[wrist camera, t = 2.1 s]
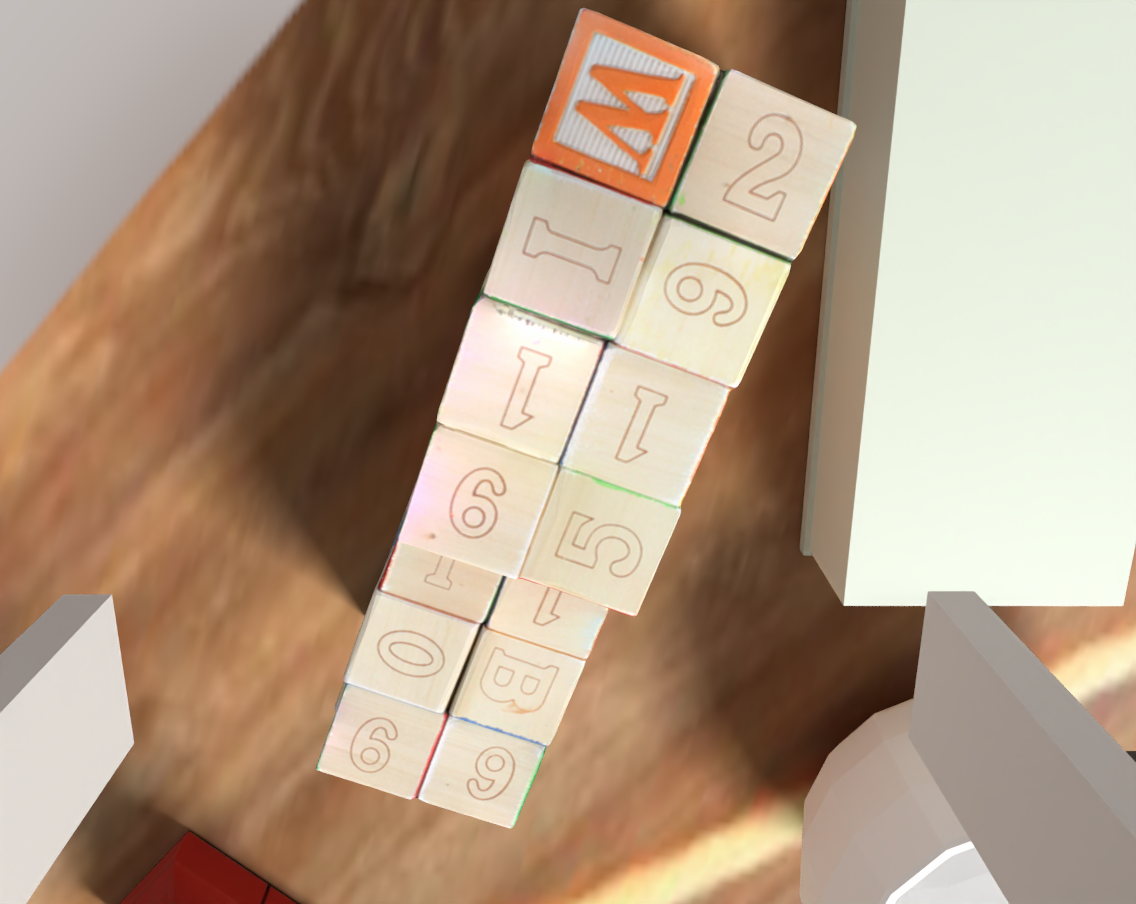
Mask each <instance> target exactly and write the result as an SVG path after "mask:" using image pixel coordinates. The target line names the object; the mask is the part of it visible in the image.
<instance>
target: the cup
mask: <svg viewBox="0 0 1136 904" xmlns="http://www.w3.org/2000/svg"><path fill="white" fill-rule="evenodd" d="M913 699H914V698H913ZM913 699H910V700H908V701H905V702H903V703H900V704H897V705H895V706H892V707H890V708H887V709H885V710H882V711H880V712H877V713H874V714H873V715H872V716H871V717H870V718H869V719H867V720H866V721H865V722H864V723H863V724H862V725H861V726H859V727H858V728H857V729H856V730H855V731H854V732H852V733H851V734H850V735H849V736H848V737H847V738H845V739H844V740H843V741H842V742H841V743H840V744H839V745H838V746H837V747H836V748H835V749H834V750H833V751H832V752H831V753H830V754H829V755H828V757H827V759H826V761H825V763H824V764H823V766H822V768H821V770H820V772H819V774H818V776H817V778H816V780H815V782H814V784H813V785H812V787H811V789H810V791H809V793H808V795H807V797H806V799H805V801H804V816H803V833H802V853H801V876H800V900H801V903H802V904H1009V903H1008V901H1007V900H1006V898H1005V896H1004V895H1003V893H1002V891H1001V890H1000V888H999V886H998V885H997V883H996V881H995V880H994V878H993V876H992V875H991V873H990V871H989V870H988V868H987V867H986V865H985V863H984V862H983V860H982V858H981V857H980V855H979V853H978V852H977V850H976V848H975V847H974V845H973V843H972V842H971V840H970V838H969V837H968V835H967V833H966V832H965V830H964V829H963V827H962V825H961V824H960V822H959V820H958V819H957V817H956V815H955V814H954V812H953V810H952V809H951V807H950V805H949V804H948V802H947V800H946V799H945V797H944V795H943V794H942V792H941V790H940V789H939V787H938V786H937V784H936V782H935V781H934V779H933V777H932V776H931V774H930V772H929V771H928V769H927V767H926V766H925V764H924V762H923V761H922V759H921V757H920V756H919V754H918V752H917V751H916V749H915V748H914V746H913V744H912V743H911V741H910V739H909V738H908V737H909V729H910V722H911V714H912V707H913Z"/></svg>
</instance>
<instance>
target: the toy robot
mask: <svg viewBox="0 0 1136 904" xmlns="http://www.w3.org/2000/svg"><path fill="white" fill-rule="evenodd" d="M267 886H268V884H267V883H266V882H264V881H263V880H261V879H260V878H258V877H257V876H255V875H254V874H252V873H251V872H249V871H248V870H246V869H245V868H243V867H242V866H240V865H239V864H238V863H236V862H235V861H233V860H232V859H230V858H229V857H227V856H226V855H224V854H223V853H221V852H220V851H218V850H217V849H215V848H214V847H212V846H211V845H209V844H208V843H206V842H205V841H203V840H202V839H200V838H199V837H198V836H196V835H195V834H193V833H192V832H190V831H188V832H187V833H186V834H185V835H184V836H183V838H182V839H181V840H180V841H179V842H178V843H177V844H176V845H175V846H174V847H173V848H172V849H171V850H170V851H169V852H168V853H167V854H166V855H165V856H164V858H163V859H162V860H161V861H160V862H159V863H158V864H157V865H156V866H155V867H154V868H153V869H152V870H151V871H150V872H149V873H148V874H147V875H146V877H145V878H144V879H143V880H142V881H141V882H140V883H139V884H138V885H137V886H136V887H135V888H134V889H133V890H132V891H131V892H130V893H129V894H128V895H127V897H126V898H125V899H124V900H123V901H122V902H121V903H120V904H297V903H295V902H294V901H292V900H291V899H289V898H288V897H286V896H285V895H283V894H282V893H281V892H279V891H278V890H276V889H275V888H273V887H272V886H270V887H269V888H268V889H266V888H267Z"/></svg>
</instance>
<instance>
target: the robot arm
mask: <svg viewBox="0 0 1136 904" xmlns="http://www.w3.org/2000/svg"><path fill="white" fill-rule="evenodd" d="M908 738H909V739H910V741H911V743H912V744H913V746H914V748H915V749H916V751H917V752H918V754H919V756H920V757H921V759H922V761H923V762H924V764H925V766H926V767H927V769H928V771H929V772H930V774H931V776H932V777H933V779H934V781H935V782H936V784H937V786H938V787H939V789H940V790H941V792H942V794H943V795H944V797H945V799H946V800H947V802H948V804H949V805H950V807H951V809H952V810H953V812H954V814H955V815H956V817H957V819H958V820H959V822H960V824H961V825H962V827H963V829H964V830H965V832H966V833H967V835H968V837H969V838H970V840H971V842H972V843H973V845H974V847H975V848H976V850H977V852H978V853H979V855H980V857H981V858H982V860H983V862H984V863H985V865H986V867H987V868H988V870H989V871H990V873H991V875H992V876H993V878H994V880H995V881H996V883H997V885H998V886H999V888H1000V890H1001V891H1002V893H1003V895H1004V896H1005V898H1006V900H1007V901H1008V903H1009V904H1136V751H1125V750H1124V749H1123V748H1122V747H1121V746H1120V745H1119V744H1118V743H1117V742H1116V741H1115V740H1114V739H1113V738H1112V737H1111V735H1110V734H1109V733H1108V732H1107V731H1106V730H1105V729H1104V728H1103V727H1102V726H1101V725H1100V724H1099V723H1098V722H1097V721H1096V720H1095V719H1094V717H1093V716H1092V715H1091V714H1090V713H1089V712H1088V711H1087V710H1086V709H1085V708H1084V707H1083V706H1082V705H1081V704H1080V703H1079V702H1078V700H1077V699H1076V698H1075V697H1074V696H1073V695H1072V694H1071V693H1070V692H1069V691H1068V690H1067V689H1066V688H1065V687H1064V686H1063V685H1062V684H1061V682H1060V681H1059V680H1058V679H1057V678H1056V677H1055V676H1054V675H1053V674H1052V673H1051V672H1050V671H1049V670H1048V669H1047V668H1046V667H1045V666H1044V664H1043V663H1042V662H1041V661H1040V660H1039V659H1038V658H1037V657H1036V656H1035V655H1034V654H1033V653H1032V652H1031V651H1030V650H1029V649H1028V648H1027V646H1026V645H1025V644H1024V643H1023V642H1022V641H1021V640H1020V639H1019V638H1018V637H1017V636H1016V635H1015V634H1014V633H1013V632H1012V631H1011V629H1010V628H1009V627H1008V626H1007V625H1006V624H1005V623H1004V622H1003V621H1002V620H1001V619H1000V618H999V617H998V616H997V615H996V614H995V613H994V611H993V610H992V609H991V608H990V607H989V606H988V605H987V604H986V603H985V602H984V601H983V600H982V599H981V598H980V597H979V596H978V595H977V593H976V592H975V591H928V593H927V601H926V608H925V616H924V624H923V631H922V639H921V646H920V654H919V661H918V669H917V676H916V684H915V692H914V699H913V707H912V714H911V722H910V729H909V737H908ZM133 744H134V739H133V732H132V726H131V719H130V712H129V706H128V699H127V692H126V686H125V679H124V672H123V666H122V659H121V652H120V646H119V639H118V632H117V626H116V619H115V612H114V606H113V599H112V594H110V595H62V596H61V597H60V598H59V599H58V600H57V601H56V602H55V603H54V604H53V605H52V606H51V607H50V608H49V609H48V610H47V611H46V612H45V613H44V614H42V615H41V616H40V617H39V618H38V619H37V620H36V621H35V622H34V623H33V624H32V625H31V626H30V627H29V628H28V629H27V630H26V631H25V632H24V633H23V634H22V635H20V636H19V637H18V638H17V639H16V640H15V641H14V642H13V643H12V644H11V645H10V646H9V647H8V648H7V649H6V650H5V651H4V652H3V653H2V654H1V655H0V904H26V903H27V901H28V900H29V899H30V897H31V896H32V894H33V893H34V891H35V890H36V888H37V887H38V885H39V884H40V882H41V881H42V879H43V878H44V876H45V875H46V873H47V872H48V870H49V869H50V867H51V866H52V864H53V863H54V861H55V860H56V858H57V857H58V856H59V854H60V853H61V851H62V850H63V848H64V847H65V845H66V844H67V842H68V841H69V839H70V838H71V836H72V835H73V833H74V832H75V830H76V829H77V827H78V826H79V824H80V823H81V821H82V820H83V818H84V817H85V815H86V814H87V812H88V811H89V810H90V808H91V807H92V805H93V804H94V802H95V801H96V799H97V798H98V796H99V795H100V793H101V792H102V790H103V789H104V787H105V786H106V784H107V783H108V781H109V780H110V778H111V777H112V775H113V774H114V772H115V771H116V769H117V768H118V766H119V765H120V764H121V762H122V761H123V759H124V758H125V756H126V755H127V753H128V752H129V750H130V749H131V747H132V746H133Z"/></svg>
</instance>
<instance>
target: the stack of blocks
mask: <svg viewBox="0 0 1136 904" xmlns="http://www.w3.org/2000/svg"><path fill="white" fill-rule="evenodd" d="M856 127H857V126H856V124H855V123H854V122H852V121H850V120H848V119H845V118H843V117H841V116H838V115H836V114H834V113H831V112H829V111H827V110H824V109H822V108H820V107H817V106H815V105H813V104H811V103H808V102H806V101H804V100H802V99H799V98H797V97H795V96H793V95H790V94H788V93H786V92H784V91H781V90H779V89H777V88H775V87H772V86H770V85H768V84H766V83H763V82H761V81H759V80H757V79H754V78H752V77H750V76H748V75H745V74H743V73H741V72H739V71H736V70H733V69H729V70H726V71H722V70H720V69H719V66H718V65H717V64H715V63H713V62H711V61H710V60H708V59H706V58H704V57H702V56H699V55H697V54H695V53H692V52H690V51H688V50H685V49H683V48H681V47H678V46H676V45H674V44H671V43H669V42H667V41H664V40H662V39H660V38H658V37H655V36H653V35H651V34H648V33H646V32H643V31H641V30H639V29H636V28H634V27H632V26H629V25H627V24H624V23H622V22H620V21H617V20H615V19H613V18H610V17H608V16H605V15H603V14H601V13H598V12H595V11H592V10H589V9H586V8H582V9H580V11H579V14H578V16H577V19H576V22H575V25H574V27H573V30H572V33H571V36H570V39H569V42H568V45H567V48H566V51H565V53H564V56H563V59H562V62H561V65H560V68H559V71H558V74H557V77H556V80H555V83H554V86H553V89H552V91H551V94H550V97H549V100H548V103H547V106H546V108H545V111H544V114H543V117H542V120H541V122H540V125H539V128H538V131H537V134H536V137H535V139H534V142H533V146H532V151H531V156H530V158H529V159H528V160H527V161H526V162H525V163H524V166H523V169H522V172H521V175H520V178H519V181H518V184H517V187H516V190H515V193H514V196H513V199H512V202H511V205H510V209H509V212H508V215H507V218H506V221H505V224H504V227H503V230H502V233H501V236H500V239H499V242H498V245H497V248H496V251H495V255H494V258H493V261H492V264H491V267H490V269H489V271H488V273H487V275H486V277H485V280H484V282H483V285H482V288H481V291H480V293H479V295H478V296H477V298H476V300H475V302H474V304H473V307H472V309H471V313H470V316H469V319H468V321H467V324H466V327H465V330H464V334H463V337H462V341H461V344H460V347H459V350H458V352H457V355H456V358H455V361H454V364H453V367H452V370H451V373H450V376H449V379H448V382H447V385H446V388H445V392H444V395H443V398H442V401H441V404H440V407H439V411H438V415H437V420H436V425H435V427H434V430H433V433H432V435H431V438H430V441H429V444H428V447H427V450H426V453H425V456H424V460H423V463H422V466H421V469H420V472H419V475H418V478H417V481H416V483H415V486H414V488H413V491H412V494H411V496H410V499H409V502H408V504H407V507H406V510H405V512H404V515H403V518H402V521H401V523H400V526H399V529H398V531H397V534H396V537H395V540H394V542H393V545H392V547H391V550H390V553H389V555H388V558H387V561H386V563H385V566H384V569H383V571H382V574H381V576H380V579H379V581H378V583H377V585H376V587H375V590H374V592H373V595H372V598H371V600H370V603H369V606H368V609H367V611H366V614H365V617H364V619H363V622H362V625H361V627H360V630H359V633H358V636H357V639H356V642H355V644H354V647H353V650H352V653H351V656H350V659H349V661H348V664H347V667H346V670H345V673H344V683H343V685H342V688H341V691H340V693H339V696H338V699H337V702H336V705H335V711H336V713H335V716H334V719H333V722H332V724H331V727H330V730H329V733H328V736H327V738H326V741H325V744H324V746H323V749H322V752H321V755H320V758H319V760H318V763H317V766H316V770H319V771H321V772H324V773H328V774H331V775H334V776H337V777H340V778H343V779H347V780H350V781H353V782H357V783H360V784H363V785H366V786H370V787H373V788H376V789H379V790H382V791H385V792H388V793H391V794H394V795H397V796H400V797H403V798H407V799H413V798H418V799H420V800H422V801H424V802H426V803H430V804H433V805H436V806H439V807H442V808H445V809H448V810H451V811H455V812H458V813H461V814H464V815H468V816H472V817H475V818H478V819H480V820H484V821H488V822H491V823H494V824H497V825H500V826H504V827H507V828H510V829H511V828H512V827H513V826H514V825H515V823H516V821H517V819H518V816H519V814H520V811H521V809H522V807H523V804H524V802H525V800H526V797H527V795H528V792H529V790H530V788H531V785H532V783H533V781H534V779H535V776H536V774H537V772H538V769H539V767H540V764H541V761H542V759H543V756H544V753H545V749H546V746H547V745H550V744H551V742H552V740H553V738H554V736H555V733H556V731H557V729H558V726H559V724H560V722H561V719H562V717H563V715H564V712H565V710H566V708H567V705H568V703H569V701H570V698H571V696H572V693H573V691H574V689H575V686H576V684H577V682H578V679H579V677H580V675H581V673H582V670H583V668H584V665H585V662H586V659H587V657H588V656H589V654H590V653H591V651H592V649H593V647H594V643H595V641H596V639H597V637H598V635H599V633H600V630H601V628H602V625H603V623H604V620H605V618H606V615H607V613H608V610H609V609H611V610H614V611H616V612H619V613H622V614H625V615H628V616H632V617H634V616H637V614H638V611H639V609H640V607H641V605H642V602H643V600H644V598H645V595H646V593H647V590H648V588H649V586H650V583H651V581H652V579H653V577H654V574H655V572H656V570H657V567H658V565H659V563H660V560H661V558H662V556H663V553H664V551H665V549H666V547H667V544H668V542H669V540H670V537H671V535H672V533H673V531H674V528H675V526H676V524H677V521H678V519H679V517H680V515H681V503H682V501H683V499H684V497H685V495H686V493H687V491H688V488H689V486H690V484H691V482H692V480H693V478H694V475H695V473H696V471H697V469H698V466H699V464H700V462H701V459H702V457H703V455H704V452H705V450H706V447H707V445H708V442H709V440H710V438H711V436H712V434H713V432H714V430H715V427H716V425H717V423H718V421H719V418H720V416H721V414H722V411H723V409H724V406H725V404H726V402H727V398H728V395H729V393H730V391H731V390H733V389H734V388H736V387H737V386H738V385H739V383H740V382H741V380H742V377H743V375H744V373H745V371H746V369H747V366H748V364H749V362H750V360H751V358H752V355H753V353H754V351H755V349H756V346H757V344H758V342H759V339H760V337H761V335H762V333H763V330H764V328H765V326H766V324H767V321H768V319H769V317H770V315H771V313H772V310H773V308H774V306H775V304H776V302H777V299H778V297H779V295H780V293H781V290H782V288H783V286H784V284H785V282H786V279H787V277H788V275H789V272H790V268H791V261H793V260H794V259H795V258H796V257H797V256H798V255H799V254H800V252H801V251H802V249H803V246H804V244H805V242H806V240H807V237H808V235H809V233H810V231H811V229H812V227H813V225H814V222H815V220H816V218H817V216H818V214H819V212H820V210H821V207H822V205H823V203H824V201H825V199H826V197H827V195H828V192H829V190H830V188H831V186H832V184H833V182H834V179H835V177H836V175H837V173H838V171H839V169H840V166H841V164H842V162H843V160H844V158H845V155H846V153H847V151H848V149H849V147H850V145H851V142H852V140H853V138H854V134H855V131H856Z"/></svg>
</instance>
